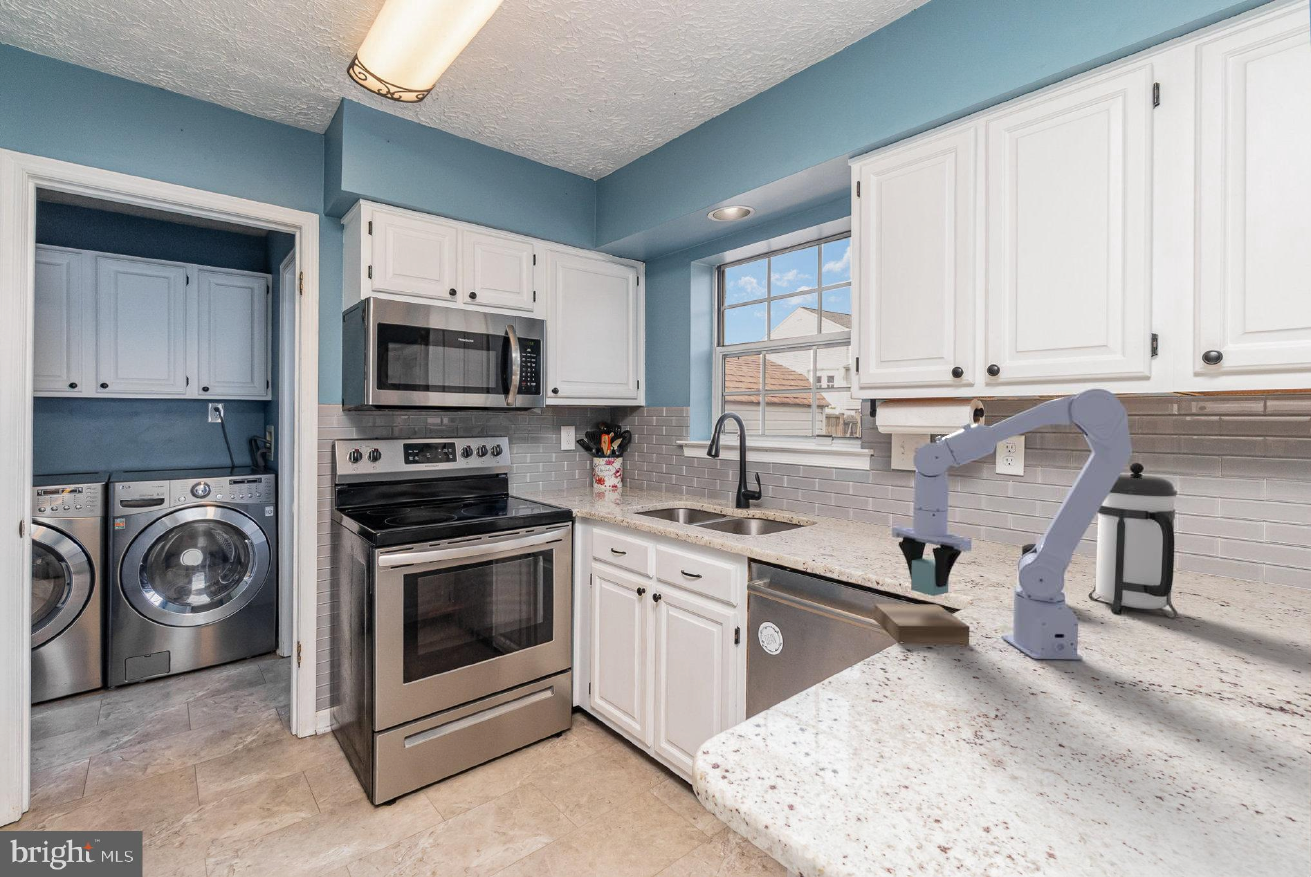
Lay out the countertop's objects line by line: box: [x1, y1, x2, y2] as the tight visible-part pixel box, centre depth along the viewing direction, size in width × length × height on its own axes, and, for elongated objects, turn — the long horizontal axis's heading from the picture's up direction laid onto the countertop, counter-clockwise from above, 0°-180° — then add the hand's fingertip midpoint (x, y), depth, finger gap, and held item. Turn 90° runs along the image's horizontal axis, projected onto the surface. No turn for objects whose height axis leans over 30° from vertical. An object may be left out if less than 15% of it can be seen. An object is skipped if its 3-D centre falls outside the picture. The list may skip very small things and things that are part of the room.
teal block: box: [910, 557, 950, 597], centre depth 110 cm, size 4×4×6 cm
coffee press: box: [1088, 462, 1179, 619], centre depth 122 cm, size 17×16×30 cm
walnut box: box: [873, 603, 970, 645], centre depth 109 cm, size 12×12×4 cm
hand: (928, 582), depth 110 cm, fingers closed on teal block, 4 cm apart
